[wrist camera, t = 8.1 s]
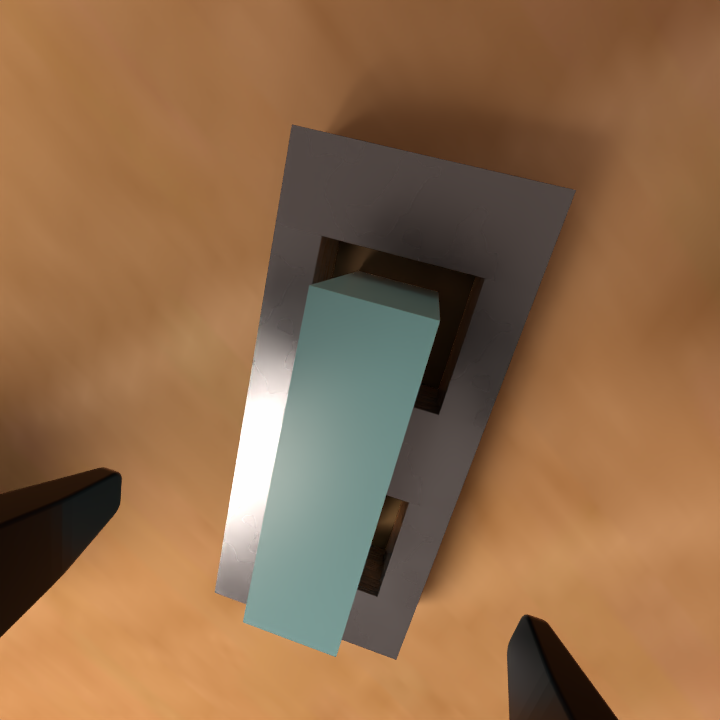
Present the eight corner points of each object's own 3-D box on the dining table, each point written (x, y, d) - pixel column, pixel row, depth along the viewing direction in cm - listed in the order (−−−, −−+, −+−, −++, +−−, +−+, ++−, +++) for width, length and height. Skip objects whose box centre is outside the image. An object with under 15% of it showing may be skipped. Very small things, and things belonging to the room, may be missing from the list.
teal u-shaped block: (368, 523, 17) (336, 657, 12) (304, 502, 18) (242, 622, 12) (438, 291, 14) (440, 321, 9) (358, 270, 14) (309, 284, 9)
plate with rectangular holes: (401, 606, 18) (396, 659, 16) (242, 549, 19) (214, 592, 17) (550, 201, 13) (576, 190, 10) (317, 146, 14) (291, 124, 11)
